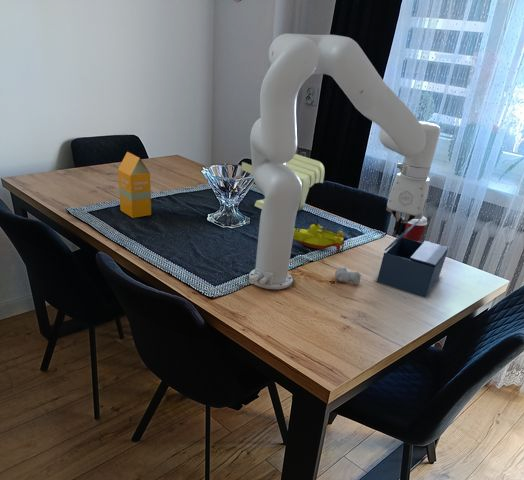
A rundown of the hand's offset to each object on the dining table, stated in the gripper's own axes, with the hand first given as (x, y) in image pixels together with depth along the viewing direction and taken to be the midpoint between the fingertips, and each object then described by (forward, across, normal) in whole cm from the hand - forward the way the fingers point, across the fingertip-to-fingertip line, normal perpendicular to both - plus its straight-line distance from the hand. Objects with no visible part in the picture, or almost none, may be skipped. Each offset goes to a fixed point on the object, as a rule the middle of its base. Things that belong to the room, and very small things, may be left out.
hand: (398, 233), depth 148 cm
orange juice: (+13, -90, -14) cm, 92 cm away
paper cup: (+13, +1, +17) cm, 22 cm away
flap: (0, +1, 0) cm, 1 cm away
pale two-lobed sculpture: (+13, -8, -15) cm, 22 cm away
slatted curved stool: (+13, -54, +29) cm, 63 cm away
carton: (+13, +7, 0) cm, 15 cm away
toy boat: (+13, -26, +3) cm, 30 cm away
